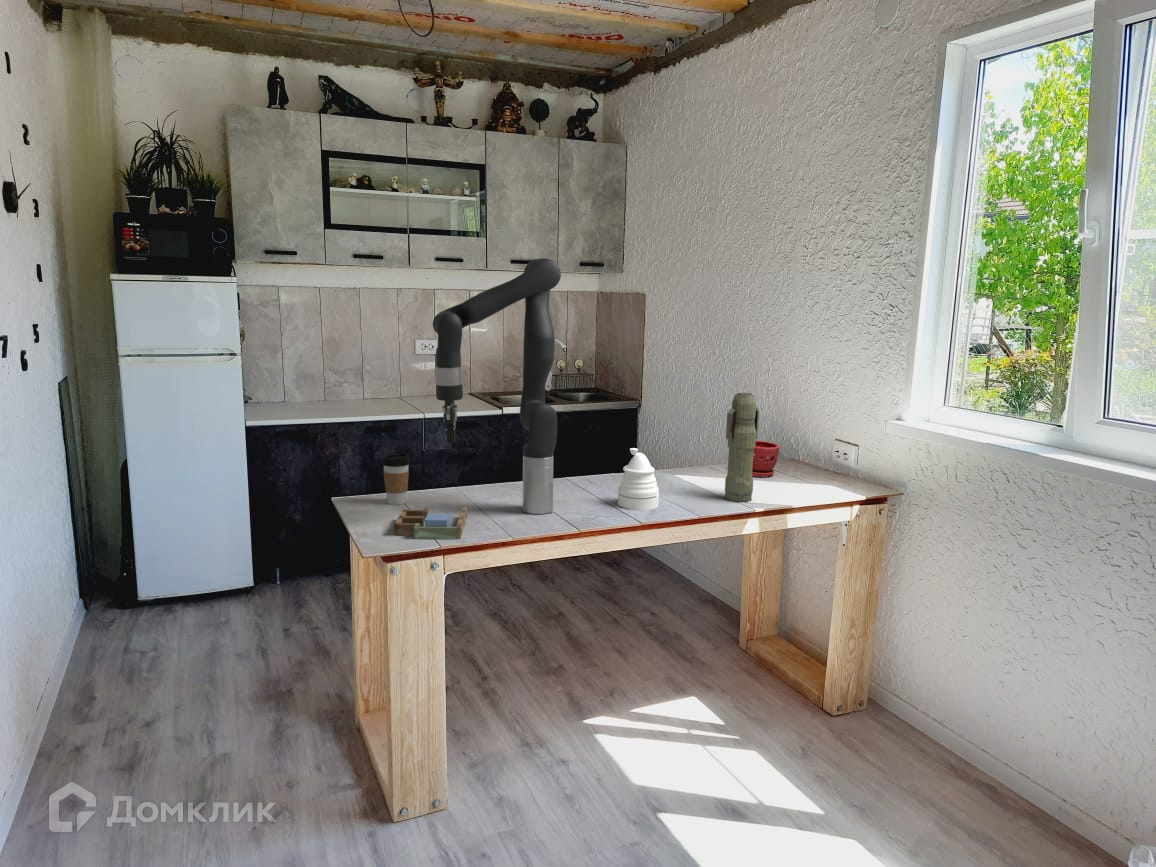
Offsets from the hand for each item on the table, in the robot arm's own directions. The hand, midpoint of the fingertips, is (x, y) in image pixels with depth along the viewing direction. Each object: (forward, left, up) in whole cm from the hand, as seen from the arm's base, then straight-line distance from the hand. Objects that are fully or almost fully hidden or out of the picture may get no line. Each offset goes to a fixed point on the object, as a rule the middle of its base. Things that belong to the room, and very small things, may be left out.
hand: (451, 442), depth 225 cm
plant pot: (-108, -58, -23) cm, 125 cm away
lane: (+5, +10, -23) cm, 25 cm away
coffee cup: (+19, -16, -23) cm, 34 cm away
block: (+2, +15, -23) cm, 28 cm away
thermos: (-91, -23, -23) cm, 97 cm away
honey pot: (-57, -16, -23) cm, 64 cm away
